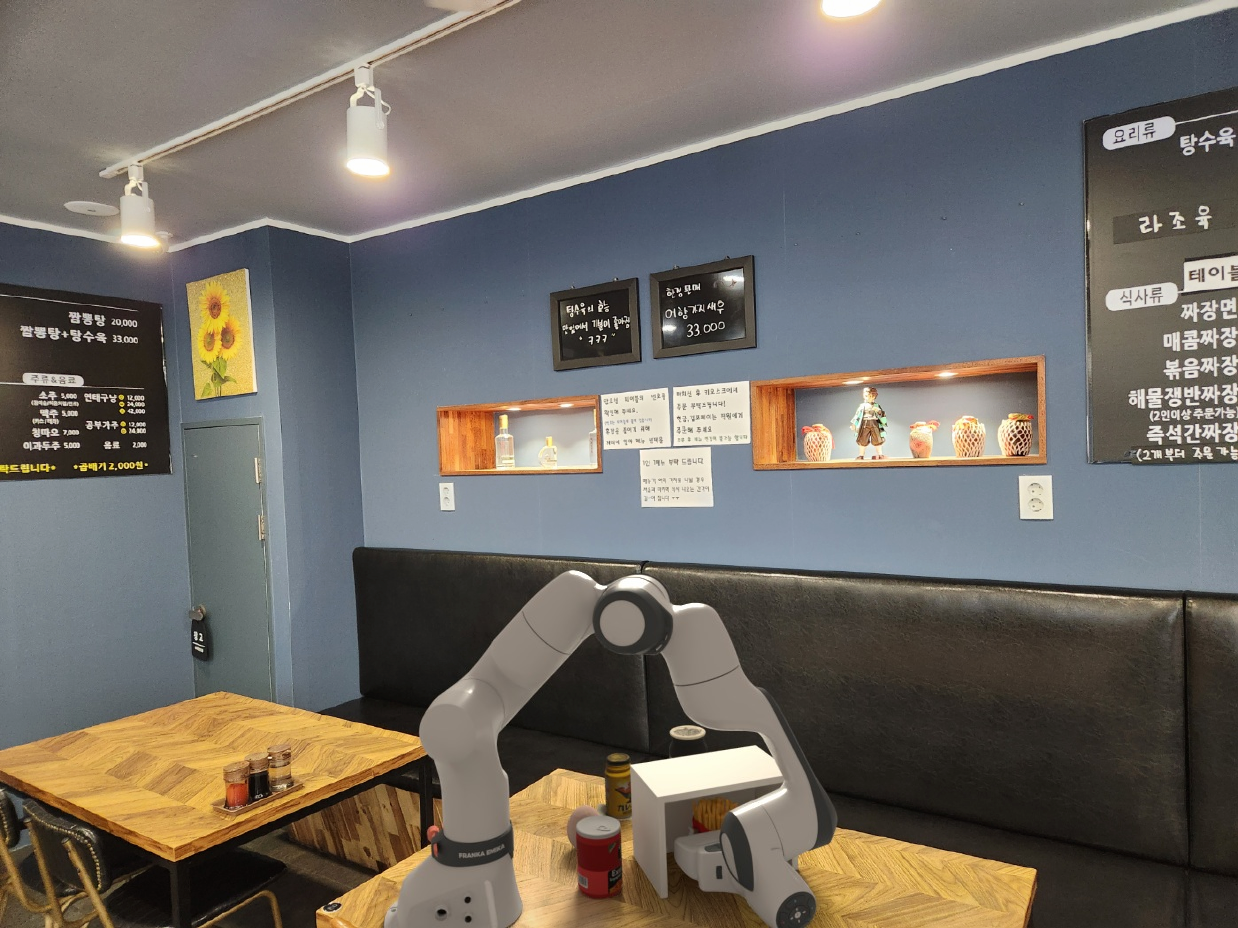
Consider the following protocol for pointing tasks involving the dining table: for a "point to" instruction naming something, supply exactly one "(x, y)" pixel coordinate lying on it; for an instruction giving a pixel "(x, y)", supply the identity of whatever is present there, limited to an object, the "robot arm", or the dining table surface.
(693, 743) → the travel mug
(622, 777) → the condiment
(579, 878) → the canned food
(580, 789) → the dining table surface
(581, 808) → the egg
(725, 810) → the french fries
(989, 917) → the dining table surface
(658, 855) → the white step stool
